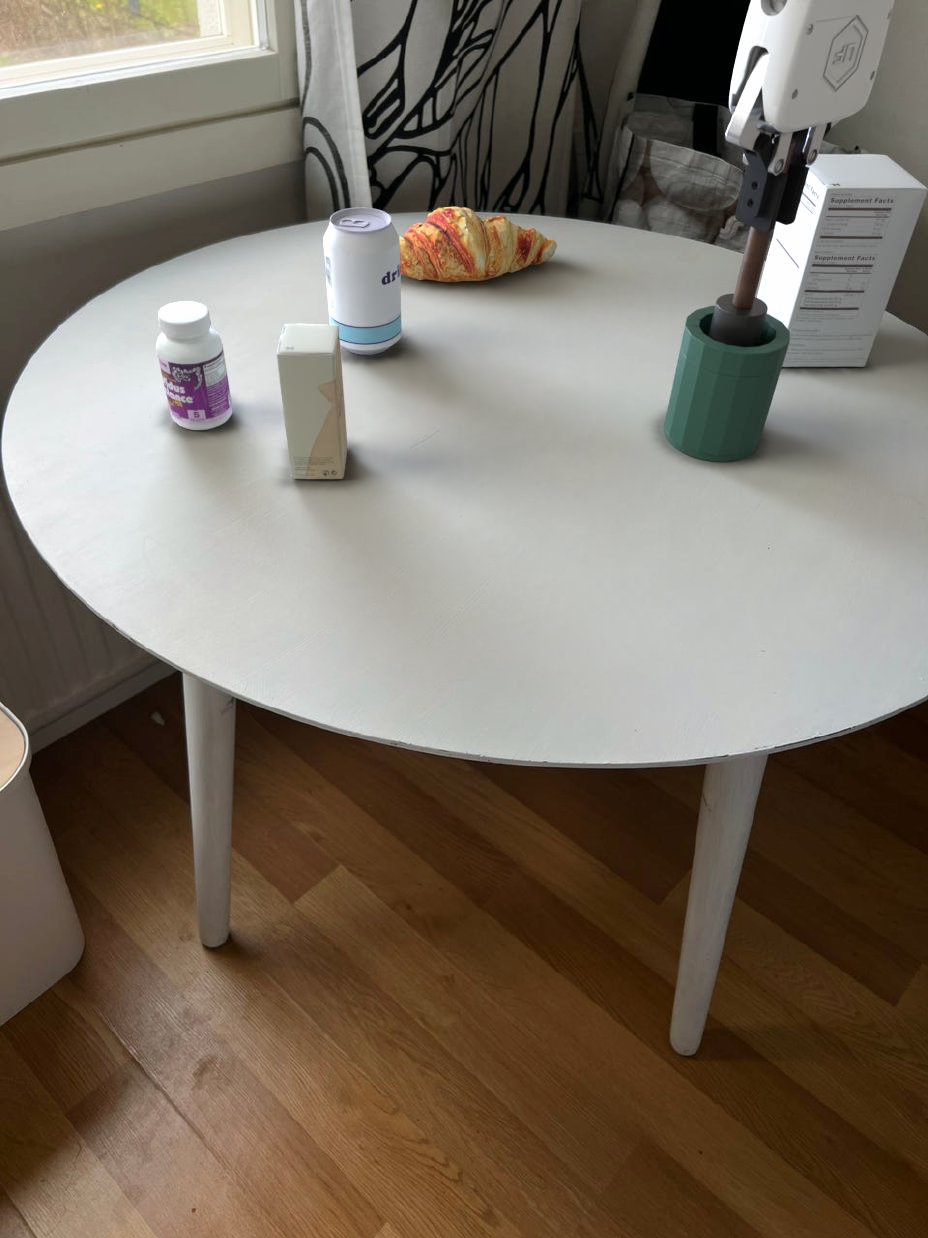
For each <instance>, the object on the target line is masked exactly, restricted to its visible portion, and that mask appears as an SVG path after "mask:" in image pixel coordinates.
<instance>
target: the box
mask: <svg viewBox="0 0 928 1238" xmlns="http://www.w3.org/2000/svg"><path fill="white" fill-rule="evenodd" d="M341 349H342V348H341V346H340V335H339V325H333V324H330V323H284V324H283V327H282V330H281V333H280V336H279V341H278V346H277V351H276V360H277V361H276V362H277V371H278V378H279V386H280V396H281V404H282V412H283V417H284V418H283V420H284V426H285V427H284V429H285V435H286V441H287V442H286V443H287V451H288V457H289V458H288V460H289V467H290V474H291V475H290V476H291V479H293V480H343V479H344V477H345V472H346V471H345V470H346V463H347V456H348V433H347V432H348V431H347V420H346V404H345V391H344V377H343V365H342V364H343V363H342V352H341V351H342V350H341Z"/></svg>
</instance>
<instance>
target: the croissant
mask: <svg viewBox="0 0 928 1238" xmlns="http://www.w3.org/2000/svg"><path fill="white" fill-rule="evenodd" d="M399 238H400V274H402V275H403V276H405V277H408V278H411V279H416V280H418V281H423V280H428V281H437V282H442V283H456V284H457V283H459V282H481V281H487V280H490V279H495V278H496V277H497V278H498V277H500V276H503V274H506V273H515V272H518V271H521V270H522V269H525V268H527V267H528V266H530V265H535V266H536V265H539V264H542V263H544V262H546V261H548V260H551V258H552V257H553V256H554V255H555V253H556V250H557V247H558V244H557V242H556V241H555V239H551V238H550V239H548V238H547V237H546V236H545V235H543V234H542V233H541V232H540V231H537V230H536V228H533V227H530V228H527V229H526V228H522V227H521V226H520V225H518V224H516V223H512V222H511V220H510V219H509V218H507V217H506V216H505V215H503V214H500V215H496V216H493V217H491V216H487V217H485V219H484V220H483V219H482V218H481V217H480V216H479V215H477V214H476V212H475V211H473V210H472V209H471V208H468V207H459V206H447V207H438V208H436V209H435V210H433V211H432V212H430V213H428V214H427V218H426V219H425V221H424V222H417V223H413V224H411V225H410V226H409V228H408V229H407V230H406V232H405V233H404V235H403V236H401V235H399Z"/></svg>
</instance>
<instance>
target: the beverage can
mask: <svg viewBox="0 0 928 1238" xmlns="http://www.w3.org/2000/svg"><path fill="white" fill-rule="evenodd" d="M392 220H393V219H392V216H391V215H390V214H389V213H388V212H386V211H384V210H381V209H377V208H373V207H361V206H358V207H349V208H344V209H340V210H338V211H336V212H334V213H332V214H331V215H330V217H329V225H328V226H327V229H326V231H325V233H324V235H323V239H322V240H323V241H322V242H323V253H324V255H323V256H324V265H325V266H324V268H325V280H326V293H327V305H328V318H329V324H333V325H339V335H340V347H342V348H344V350H346V351H348V352H349V353H351V354H355V355H361V356H370V355H371V356H373V355H377V354H380V353H383V352H385V351H387V350H389V349H390V347H391V346H393V345H395V344H397V342H399V340H400V339H401V337H402V285H401V284H402V283H401V273H400V238H399V236H400V234H399V233H398V231H397V230H396V228H395V226H394V224H393V223H392V222H393V221H392Z"/></svg>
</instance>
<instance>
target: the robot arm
mask: <svg viewBox="0 0 928 1238" xmlns="http://www.w3.org/2000/svg"><path fill="white" fill-rule="evenodd" d="M894 5H895V0H750V3H749V6H748V10H747V13H746V17H745V21H744V24H743V28H742V32H741V36H740V40H739V44H738V49H737V52H736V57H735V62H734V66H733V71H732V76H731V81H730V90H729V96H728V109H729V111H730V114H731V115H732V116H731V119H730V122H729V123H728V126H727V129H726V131H725V134H724V135H725V136H724V139H725V141H726V142H728V143H731V144H733V145H735V146H738V147H741V148H740V149H741V150H742V153H743V155H742V163H743V164H744V165H745V171H744V175H743V180H742V183H741V188H740V192H739V197H738V201H737V206H736V209H735V214H734V217H735V220H736V221H737V222H739V223H742V224H744V225H746V226H748V227H753V228H755V229H758V230H760V231H762V232H769V231H771V230H772V231H774V230H775V226H776V221H777V222H779V223H781V224H784V225H789V224H792V223H793V222H794V221H795V218H796V215H797V211H798V208H799V204H800V200H801V197H802V193H803V190H804V186H805V182H806V179H807V175H808V172H809V167H806V165H808V166H810V165H812V164H813V163H814V162H815V161H816V159H817V156H818V154H820V149H821V147H822V143H823V140H824V139H825V138H826V136H827V135H828V133H829V132H830V131H831V129H832V128H834V127H835V126H836V125H837V124H839V123H840V122H841V121H842V120H844V119H845V118H849V117H852V116H853V115H856V114H857V113H858V112H860V111H861V110H862V109H863V108H864V107H865V106H866V104H867V103H868V100H869V98H870V95H871V92H872V89H873V86H874V82H875V79H876V76H877V72H878V68H879V64H880V61H881V57H882V53H883V51H884V45H885V42H886V38H887V33H888V30H889V25H890V22H891V17H892V13H893V8H894ZM766 132H767V133H770V134H772V135H774V137H775V138H774V137H773V138H774V142H772V139H773V138H772V137H771V135H769V134H767V133H766ZM791 139H793V140H795V146H794V150H793V154H792V157H791V161H790V165H789V169H788V173H787V174H786V173H783V172H782V170H783V169H784V166H785V163H786V158H787V154H788V150H789V146H790V142H791Z"/></svg>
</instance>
